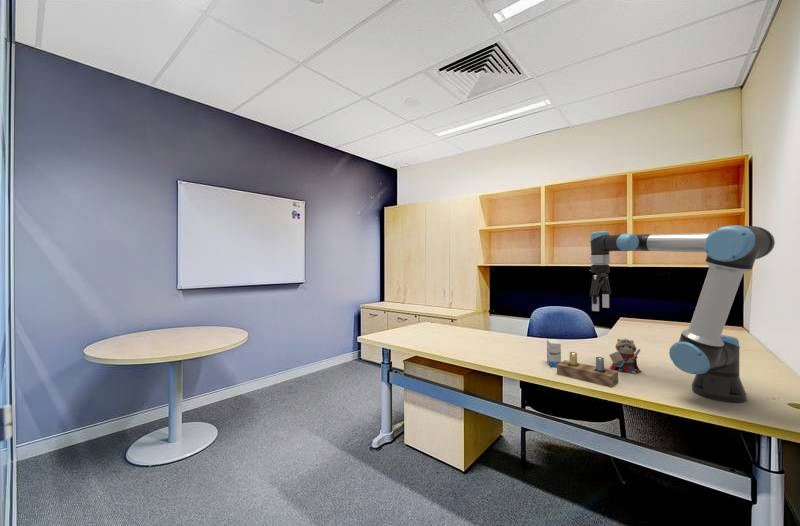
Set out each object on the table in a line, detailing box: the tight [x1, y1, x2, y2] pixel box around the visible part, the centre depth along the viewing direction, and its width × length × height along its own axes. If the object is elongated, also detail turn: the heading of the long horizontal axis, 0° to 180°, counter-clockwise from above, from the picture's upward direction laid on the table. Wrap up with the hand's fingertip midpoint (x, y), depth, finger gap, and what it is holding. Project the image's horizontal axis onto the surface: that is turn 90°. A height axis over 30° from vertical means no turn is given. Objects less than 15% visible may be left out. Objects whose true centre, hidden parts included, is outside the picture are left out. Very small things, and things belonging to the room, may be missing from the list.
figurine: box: [608, 338, 642, 374], centre depth 155 cm, size 13×11×15 cm
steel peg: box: [595, 356, 605, 373], centre depth 144 cm, size 3×3×10 cm
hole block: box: [556, 360, 619, 388], centre depth 148 cm, size 22×9×4 cm, turn 41°
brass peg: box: [569, 351, 578, 367], centre depth 152 cm, size 3×3×10 cm
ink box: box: [546, 339, 562, 368], centre depth 167 cm, size 8×5×12 cm, turn 168°
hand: (600, 309), depth 157 cm, fingers open, 13 cm apart
